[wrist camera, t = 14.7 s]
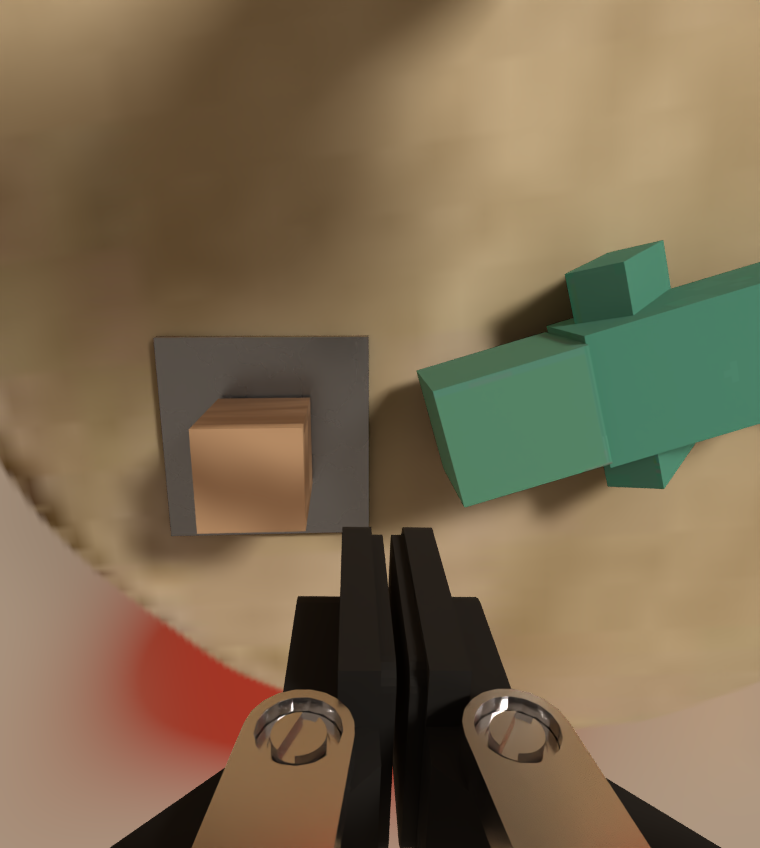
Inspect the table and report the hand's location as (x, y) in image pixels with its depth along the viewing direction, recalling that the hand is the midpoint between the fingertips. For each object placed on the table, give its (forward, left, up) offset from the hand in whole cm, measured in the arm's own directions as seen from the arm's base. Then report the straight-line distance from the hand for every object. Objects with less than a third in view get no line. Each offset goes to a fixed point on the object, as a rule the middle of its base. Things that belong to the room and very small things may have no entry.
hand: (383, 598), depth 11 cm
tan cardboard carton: (+4, -5, -24) cm, 25 cm away
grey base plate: (+4, -5, -25) cm, 26 cm away
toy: (-2, +19, -25) cm, 32 cm away
